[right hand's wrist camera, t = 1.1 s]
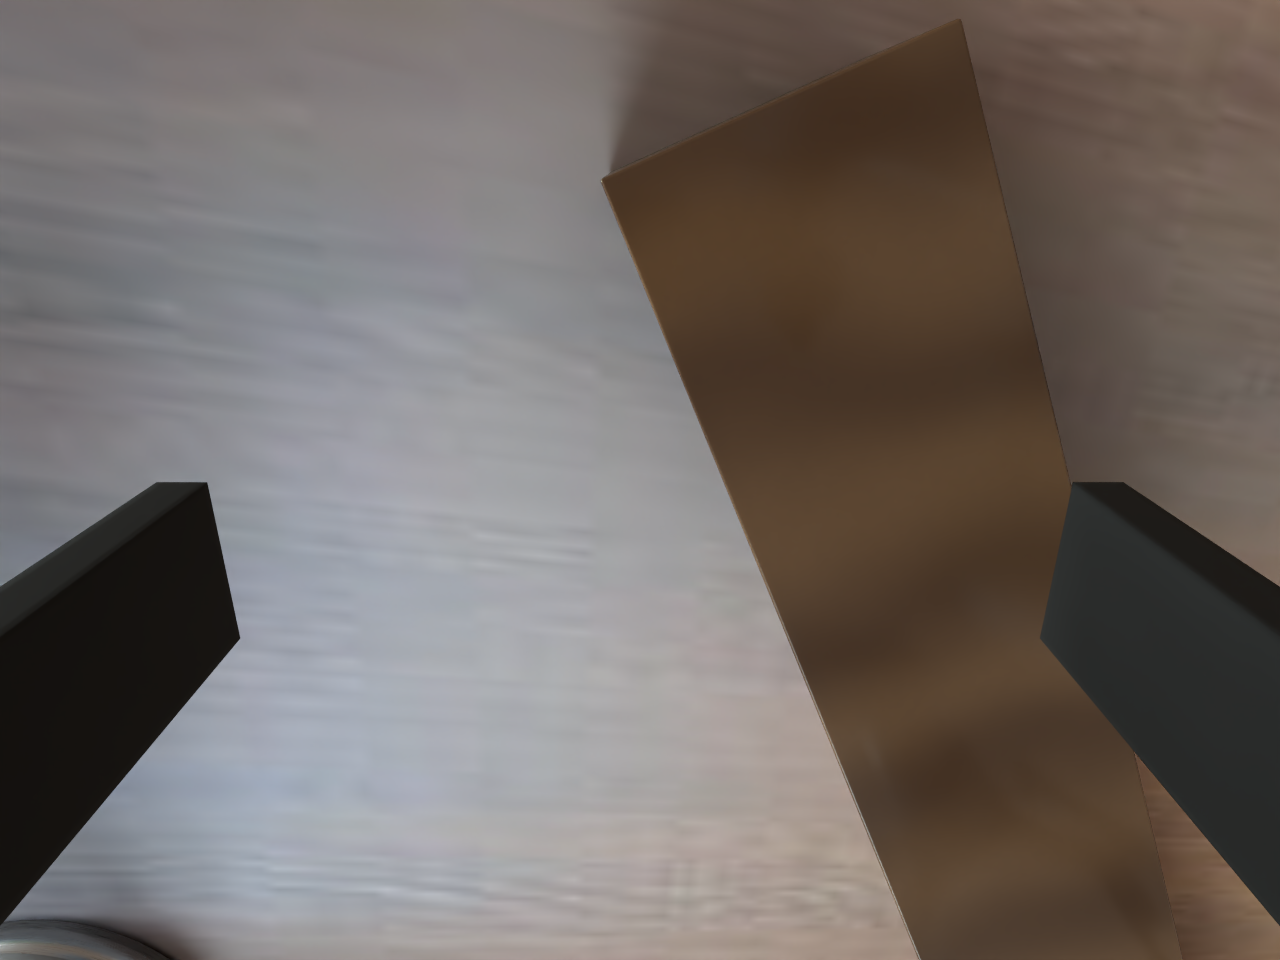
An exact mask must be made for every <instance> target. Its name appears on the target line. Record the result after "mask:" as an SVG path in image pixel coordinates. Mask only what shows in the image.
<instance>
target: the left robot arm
mask: <svg viewBox="0 0 1280 960" xmlns="http://www.w3.org/2000/svg"><path fill="white" fill-rule="evenodd" d="M0 960H169V959H168V958H166V957H165V956H163V955H161V954H160V953H158V952H156V951H155V950H153V949H151V948H149V947H147V946H145V945H143V944H141V943H139V942H137V941H134V940H132V939H130V938H127V937H125V936H122V935H119V934H117V933H114V932H110V931H107V930H104V929H100V928H96V927H93V926H88V925H83V924H78V923H72V922H64V921H54V920H20V921H10V922H4V923H2V924H1V926H0Z"/></svg>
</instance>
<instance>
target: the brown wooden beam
mask: <svg viewBox="0 0 1280 960" xmlns="http://www.w3.org/2000/svg"><path fill="white" fill-rule="evenodd" d="M601 183H602V186H603V188H604V191H605V193H606V196H607V198H608V200H609V203H610V205H611V208H612V210H613V213H614V215H615V218H616V220H617V222H618V225H619V227H620V230H621V232H622V235H623V237H624V240H625V242H626V244H627V247H628V249H629V252H630V254H631V257H632V259H633V262H634V264H635V266H636V269H637V271H638V274H639V276H640V279H641V281H642V284H643V286H644V289H645V291H646V293H647V296H648V298H649V301H650V303H651V306H652V308H653V311H654V313H655V315H656V318H657V320H658V323H659V325H660V328H661V330H662V333H663V335H664V337H665V340H666V342H667V345H668V347H669V350H670V352H671V355H672V357H673V359H674V362H675V364H676V367H677V369H678V372H679V374H680V377H681V379H682V381H683V384H684V386H685V389H686V391H687V394H688V396H689V399H690V401H691V404H692V406H693V408H694V411H695V413H696V416H697V418H698V421H699V423H700V426H701V428H702V430H703V433H704V435H705V438H706V440H707V443H708V445H709V448H710V450H711V452H712V455H713V457H714V460H715V462H716V465H717V467H718V470H719V472H720V474H721V477H722V479H723V482H724V484H725V487H726V489H727V492H728V494H729V496H730V499H731V501H732V504H733V506H734V509H735V511H736V514H737V516H738V519H739V521H740V523H741V526H742V528H743V531H744V533H745V536H746V538H747V541H748V543H749V545H750V548H751V550H752V553H753V555H754V558H755V560H756V563H757V565H758V567H759V570H760V572H761V575H762V577H763V580H764V582H765V585H766V587H767V589H768V592H769V594H770V597H771V599H772V602H773V604H774V607H775V609H776V611H777V614H778V616H779V619H780V621H781V624H782V626H783V629H784V631H785V634H786V636H787V638H788V641H789V643H790V646H791V648H792V651H793V653H794V656H795V658H796V660H797V663H798V665H799V668H800V670H801V673H802V675H803V678H804V680H805V682H806V685H807V687H808V690H809V692H810V695H811V697H812V700H813V702H814V704H815V707H816V709H817V712H818V714H819V717H820V719H821V722H822V724H823V726H824V729H825V731H826V734H827V736H828V739H829V741H830V744H831V746H832V749H833V751H834V753H835V756H836V758H837V761H838V763H839V766H840V768H841V771H842V773H843V775H844V778H845V780H846V783H847V785H848V788H849V790H850V793H851V795H852V797H853V800H854V802H855V805H856V807H857V810H858V812H859V815H860V817H861V819H862V822H863V824H864V827H865V829H866V832H867V834H868V837H869V839H870V841H871V844H872V846H873V849H874V851H875V854H876V856H877V859H878V861H879V864H880V866H881V868H882V871H883V873H884V876H885V878H886V881H887V883H888V886H889V888H890V890H891V893H892V895H893V898H894V900H895V903H896V905H897V908H898V910H899V912H900V915H901V917H902V920H903V922H904V925H905V927H906V930H907V932H908V934H909V937H910V939H911V942H912V944H913V947H914V949H915V952H916V954H917V956H918V959H919V960H1183V958H1182V954H1181V950H1180V946H1179V941H1178V937H1177V933H1176V929H1175V924H1174V920H1173V916H1172V912H1171V908H1170V903H1169V899H1168V895H1167V891H1166V886H1165V882H1164V878H1163V874H1162V869H1161V865H1160V861H1159V857H1158V852H1157V848H1156V844H1155V840H1154V835H1153V831H1152V827H1151V823H1150V818H1149V814H1148V810H1147V806H1146V801H1145V797H1144V793H1143V789H1142V784H1141V780H1140V776H1139V772H1138V767H1137V763H1136V759H1135V755H1134V751H1133V749H1132V748H1131V747H1130V746H1129V745H1128V743H1127V742H1126V741H1125V740H1124V739H1123V737H1122V736H1121V735H1120V734H1119V733H1118V731H1117V730H1116V729H1115V728H1114V727H1113V725H1112V724H1111V723H1110V722H1109V721H1108V719H1107V718H1106V717H1105V716H1104V715H1103V713H1102V712H1101V711H1100V710H1099V709H1098V707H1097V706H1096V705H1095V704H1094V703H1093V702H1092V700H1091V699H1090V698H1089V697H1088V696H1087V694H1086V693H1085V692H1084V691H1083V690H1082V688H1081V687H1080V686H1079V685H1078V684H1077V682H1076V681H1075V680H1074V679H1073V678H1072V676H1071V675H1070V674H1069V673H1068V672H1067V670H1066V669H1065V668H1064V667H1063V666H1062V664H1061V663H1060V662H1059V661H1058V660H1057V658H1056V657H1055V656H1054V655H1053V654H1052V652H1051V651H1050V650H1049V649H1048V648H1047V646H1046V645H1045V644H1044V643H1043V642H1042V640H1041V639H1040V635H1041V630H1042V625H1043V621H1044V616H1045V611H1046V607H1047V602H1048V597H1049V592H1050V588H1051V583H1052V578H1053V574H1054V569H1055V564H1056V559H1057V555H1058V550H1059V545H1060V541H1061V536H1062V531H1063V526H1064V522H1065V517H1066V512H1067V508H1068V503H1069V498H1070V493H1071V489H1072V487H1071V483H1070V479H1069V475H1068V471H1067V466H1066V462H1065V458H1064V454H1063V449H1062V445H1061V441H1060V437H1059V432H1058V428H1057V424H1056V420H1055V415H1054V411H1053V407H1052V403H1051V398H1050V394H1049V390H1048V386H1047V381H1046V377H1045V373H1044V369H1043V364H1042V360H1041V356H1040V352H1039V347H1038V343H1037V339H1036V335H1035V330H1034V326H1033V322H1032V318H1031V314H1030V309H1029V305H1028V301H1027V297H1026V292H1025V288H1024V284H1023V280H1022V275H1021V271H1020V267H1019V263H1018V258H1017V254H1016V250H1015V246H1014V241H1013V237H1012V233H1011V229H1010V224H1009V220H1008V216H1007V212H1006V207H1005V203H1004V199H1003V195H1002V190H1001V186H1000V182H999V178H998V174H997V169H996V165H995V161H994V157H993V152H992V148H991V144H990V140H989V135H988V131H987V127H986V123H985V118H984V114H983V110H982V106H981V101H980V97H979V93H978V89H977V84H976V80H975V76H974V72H973V67H972V63H971V59H970V55H969V50H968V46H967V42H966V38H965V34H964V29H963V25H962V21H961V19H956V20H954V21H952V22H949V23H947V24H945V25H942V26H940V27H937V28H935V29H933V30H930V31H928V32H926V33H923V34H921V35H919V36H916V37H914V38H911V39H909V40H907V41H904V42H902V43H900V44H897V45H895V46H892V47H890V48H888V49H885V50H883V51H881V52H878V53H876V54H874V55H871V56H869V57H867V58H865V59H862V60H860V61H858V62H856V63H853V64H851V65H849V66H847V67H844V68H842V69H840V70H838V71H836V72H833V73H831V74H829V75H827V76H824V77H822V78H820V79H818V80H815V81H813V82H811V83H809V84H807V85H804V86H802V87H800V88H798V89H795V90H793V91H791V92H789V93H787V94H784V95H782V96H780V97H778V98H775V99H773V100H771V101H769V102H766V103H764V104H762V105H760V106H758V107H755V108H753V109H751V110H749V111H746V112H744V113H742V114H740V115H738V116H735V117H733V118H731V119H729V120H726V121H724V122H722V123H720V124H717V125H715V126H713V127H711V128H709V129H706V130H704V131H702V132H700V133H697V134H695V135H693V136H691V137H689V138H686V139H684V140H682V141H680V142H677V143H675V144H673V145H671V146H668V147H666V148H664V149H662V150H660V151H657V152H655V153H653V154H651V155H648V156H646V157H644V158H642V159H639V160H637V161H635V162H633V163H631V164H628V165H626V166H624V167H622V168H619V169H617V170H615V171H613V172H611V173H609V174H608V175H606V176H605V177H604V178H602V179H601Z"/></svg>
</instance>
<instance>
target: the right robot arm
mask: <svg viewBox="0 0 1280 960" xmlns="http://www.w3.org/2000/svg"><path fill="white" fill-rule="evenodd" d="M239 639H240V635H239V630H238V625H237V621H236V616H235V611H234V607H233V602H232V597H231V592H230V588H229V583H228V578H227V574H226V569H225V564H224V559H223V555H222V550H221V545H220V541H219V536H218V531H217V526H216V522H215V517H214V512H213V508H212V503H211V498H210V493H209V489H208V484H207V482H156V483H155V484H153V485H152V486H150V487H149V488H147V489H146V490H144V491H143V492H141V493H140V494H138V495H137V496H135V497H134V498H133V499H131V500H130V501H128V502H127V503H125V504H124V505H122V506H121V507H119V508H118V509H116V510H115V511H113V512H112V513H110V514H109V515H107V516H106V517H104V518H103V519H101V520H100V521H98V522H97V523H95V524H94V525H92V526H91V527H89V528H88V529H86V530H85V531H83V532H82V533H80V534H79V535H77V536H76V537H74V538H73V539H71V540H70V541H68V542H67V543H65V544H64V545H62V546H61V547H59V548H58V549H56V550H55V551H53V552H52V553H50V554H49V555H47V556H46V557H44V558H43V559H41V560H40V561H38V562H37V563H35V564H34V565H32V566H31V567H29V568H28V569H26V570H25V571H23V572H22V573H20V574H19V575H17V576H16V577H14V578H13V579H11V580H10V581H8V582H7V583H5V584H4V585H2V586H1V587H0V926H1V924H2V923H3V922H4V921H5V920H6V918H7V917H8V916H9V915H10V914H11V912H12V911H13V910H14V909H15V908H16V906H17V905H18V904H19V903H20V902H21V900H22V899H23V898H24V897H25V896H26V894H27V893H28V892H29V891H30V890H31V888H32V887H33V886H34V885H35V884H36V882H37V881H38V880H39V879H40V878H41V876H42V875H43V874H44V873H45V872H46V870H47V869H48V868H49V867H50V866H51V864H52V863H53V862H54V861H55V860H56V858H57V857H58V856H59V855H60V854H61V852H62V851H63V850H64V849H65V848H66V846H67V845H68V844H69V843H70V842H71V841H72V839H73V838H74V837H75V836H76V835H77V833H78V832H79V831H80V830H81V829H82V827H83V826H84V825H85V824H86V823H87V821H88V820H89V819H90V818H91V817H92V815H93V814H94V813H95V812H96V811H97V809H98V808H99V807H100V806H101V805H102V803H103V802H104V801H105V800H106V799H107V797H108V796H109V795H110V794H111V793H112V791H113V790H114V789H115V788H116V787H117V785H118V784H119V783H120V782H121V781H122V779H123V778H124V777H125V776H126V775H127V773H128V772H129V771H130V770H131V769H132V767H133V766H134V765H135V764H136V763H137V761H138V760H139V759H140V758H141V757H142V755H143V754H144V753H145V752H146V751H147V749H148V748H149V747H150V746H151V745H152V743H153V742H154V741H155V740H156V739H157V737H158V736H159V735H160V734H161V733H162V731H163V730H164V729H165V728H166V727H167V725H168V724H169V723H170V722H171V721H172V719H173V718H174V717H175V716H176V715H177V713H178V712H179V711H180V710H181V709H182V707H183V706H184V705H185V704H186V703H187V702H188V700H189V699H190V698H191V697H192V696H193V694H194V693H195V692H196V691H197V690H198V688H199V687H200V686H201V685H202V684H203V682H204V681H205V680H206V679H207V678H208V676H209V675H210V674H211V673H212V672H213V670H214V669H215V668H216V667H217V666H218V664H219V663H220V662H221V661H222V660H223V658H224V657H225V656H226V655H227V654H228V652H229V651H230V650H231V649H232V648H233V646H234V645H235V644H236V643H237V642H238V640H239ZM1040 639H1041V640H1042V642H1043V643H1044V644H1045V645H1046V646H1047V648H1048V649H1049V650H1050V651H1051V652H1052V654H1053V655H1054V656H1055V657H1056V658H1057V660H1058V661H1059V662H1060V663H1061V664H1062V666H1063V667H1064V668H1065V669H1066V670H1067V672H1068V673H1069V674H1070V675H1071V676H1072V678H1073V679H1074V680H1075V681H1076V682H1077V684H1078V685H1079V686H1080V687H1081V688H1082V690H1083V691H1084V692H1085V693H1086V694H1087V696H1088V697H1089V698H1090V699H1091V700H1092V702H1093V703H1094V704H1095V705H1096V706H1097V707H1098V709H1099V710H1100V711H1101V712H1102V713H1103V715H1104V716H1105V717H1106V718H1107V719H1108V721H1109V722H1110V723H1111V724H1112V725H1113V727H1114V728H1115V729H1116V730H1117V731H1118V733H1119V734H1120V735H1121V736H1122V737H1123V739H1124V740H1125V741H1126V742H1127V743H1128V745H1129V746H1130V747H1131V748H1132V749H1133V751H1134V752H1135V753H1136V754H1137V755H1138V757H1139V758H1140V759H1141V760H1142V761H1143V763H1144V764H1145V765H1146V766H1147V767H1148V769H1149V770H1150V771H1151V772H1152V773H1153V775H1154V776H1155V777H1156V778H1157V779H1158V781H1159V782H1160V783H1161V784H1162V785H1163V787H1164V788H1165V789H1166V790H1167V791H1168V793H1169V794H1170V795H1171V796H1172V797H1173V799H1174V800H1175V801H1176V802H1177V803H1178V805H1179V806H1180V807H1181V808H1182V809H1183V811H1184V812H1185V813H1186V814H1187V815H1188V817H1189V818H1190V819H1191V820H1192V821H1193V823H1194V824H1195V825H1196V826H1197V827H1198V829H1199V830H1200V831H1201V832H1202V833H1203V835H1204V836H1205V837H1206V838H1207V839H1208V841H1209V842H1210V843H1211V844H1212V845H1213V846H1214V848H1215V849H1216V850H1217V851H1218V852H1219V854H1220V855H1221V856H1222V857H1223V858H1224V860H1225V861H1226V862H1227V863H1228V864H1229V866H1230V867H1231V868H1232V869H1233V870H1234V872H1235V873H1236V874H1237V875H1238V876H1239V878H1240V879H1241V880H1242V881H1243V882H1244V884H1245V885H1246V886H1247V887H1248V888H1249V890H1250V891H1251V892H1252V893H1253V894H1254V896H1255V897H1256V898H1257V899H1258V900H1259V902H1260V903H1261V904H1262V905H1263V906H1264V908H1265V909H1266V910H1267V911H1268V912H1269V914H1270V915H1271V916H1272V917H1273V918H1274V920H1275V921H1276V922H1277V923H1278V924H1279V926H1280V587H1279V586H1278V585H1276V584H1275V583H1273V582H1272V581H1270V580H1269V579H1267V578H1266V577H1264V576H1263V575H1261V574H1260V573H1258V572H1257V571H1255V570H1254V569H1252V568H1251V567H1249V566H1248V565H1246V564H1245V563H1243V562H1242V561H1240V560H1239V559H1237V558H1236V557H1234V556H1233V555H1231V554H1230V553H1228V552H1227V551H1225V550H1224V549H1222V548H1221V547H1219V546H1218V545H1216V544H1215V543H1213V542H1212V541H1210V540H1209V539H1207V538H1206V537H1204V536H1203V535H1201V534H1200V533H1198V532H1197V531H1195V530H1194V529H1192V528H1191V527H1189V526H1188V525H1186V524H1185V523H1183V522H1182V521H1180V520H1179V519H1177V518H1176V517H1174V516H1173V515H1171V514H1170V513H1168V512H1167V511H1165V510H1164V509H1162V508H1161V507H1159V506H1158V505H1156V504H1155V503H1153V502H1152V501H1150V500H1149V499H1147V498H1146V497H1145V496H1143V495H1142V494H1140V493H1139V492H1137V491H1136V490H1134V489H1133V488H1131V487H1130V486H1128V485H1127V484H1125V483H1124V482H1073V484H1072V489H1071V493H1070V498H1069V503H1068V508H1067V512H1066V517H1065V522H1064V526H1063V531H1062V536H1061V541H1060V545H1059V550H1058V555H1057V559H1056V564H1055V569H1054V574H1053V578H1052V583H1051V588H1050V592H1049V597H1048V602H1047V607H1046V611H1045V616H1044V621H1043V625H1042V630H1041V635H1040Z"/></svg>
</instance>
